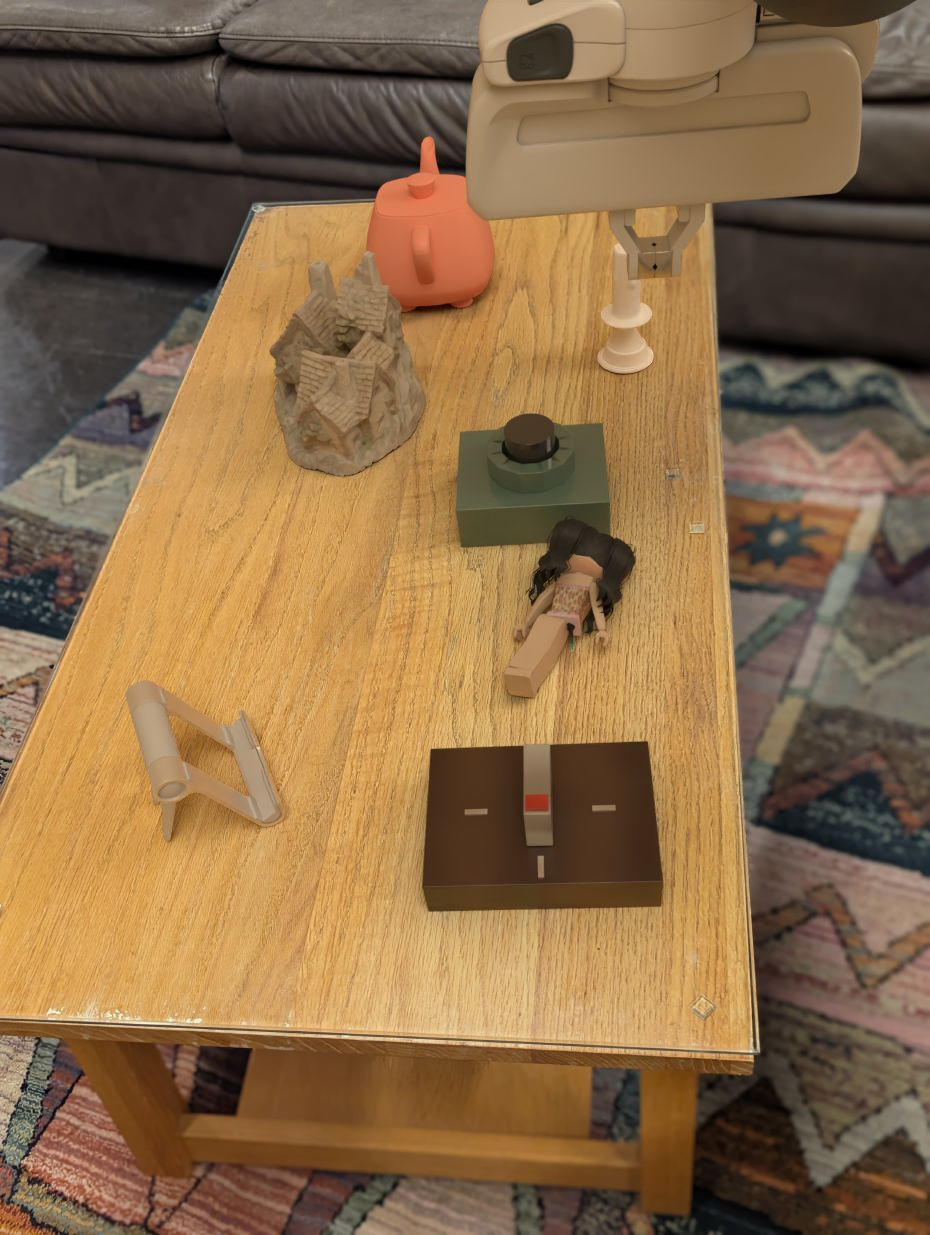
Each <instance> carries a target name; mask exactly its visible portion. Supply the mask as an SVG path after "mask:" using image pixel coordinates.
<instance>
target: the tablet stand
mask: <svg viewBox="0 0 930 1235" xmlns="http://www.w3.org/2000/svg"><path fill="white" fill-rule="evenodd" d="M125 700H126V704H127V707H128V711H129V713H130V718H131V720H132V723H133V728H134V731H135V735H136V738H137V741H138V745H139V748H140V752H141V755H142V758H143V762H144V765H145V770H146V773H147V777H148V780H149V783H150V792H151V797H152V800H153V804H154V806H158V805H160V808H161V811H162V812H161V813H162V821H161V832H162V835H163V838H164V842H170V841H171V838H172V834H173V833H172V832H173V828H174V820H175V815H176V809H177V802H179V801H181V800H183V799H184V798H186V797H188V796H189V795H191V794H193V793H198V794H201V795H203V796H205V797H207V798H209V799H211V800H212V801H214V802H216V803H218V804H219V805H220V806H221V805H222V806H224V807H225V808H227V809H229V810H231V811H233V812H234V813H236V814H238V815H240V816H241V817H243V818H245V819H247V820H249V821H251V822H253V823H254V824H256V825H258V826H260V827H264V828H267V827H269V828H270V827H273V826H276V825H278V824H279V823H280V822H282V821H283V820H284V819H285V817H286V813H287V812H286V809H285V807H284V804H283V802H282V799H281V796H280V794H279V791H278V789H277V786H276V784H275V781H274V778H273V775H272V774H271V771H270V767H269V765H268V763H267V760H266V757H265V755H264V752H263V749H262V747H261V744H260V742H259V740H258V737H257V735H256V732H255V730H254V727H253V725H252V722H251V719H250V716H248V714H247V713H246V711H245V710H244V709H241V710H239V711H238V715H239V719H237V720H236V721H234V722H233V723H232V724H231V725H229V726H228V725H226V724H225V723H222V724H221V723H219V722H218V721H216V720H214V719H213V718H211V717H210V716H208V715H207V714H205V713H204V712H202V711H200V710H199V709H197V708H195V707H194V706H193V705H191V704H189V703H188V702H187V701H185V700H183V699H182V698H180V697H178V696H177V695H175V694H173V693H172V692H171V691H169V690H168V689H165V688H163V687H162V686H160V685H159V684H157V683H156V682H155V681H153V680H146V679H145V680H144V679H143V680H139V681H137V682H134V683H133V684H131V685H130V686H129V687H127V689H126V692H125ZM169 716H174V717H177V718H178V719H180V720H181V721H182V722H184V723H186V724H187V725H189V726H191V727H193V728H194V729H196V730H198V731H199V732H201V733H203V734H204V735H206V736H208V737H209V738H210V739H212V740H214V741H215V742H217V743H219V744H220V745H222V746H223V747H225V748H227V749H229V750H230V751H231V752H233V755H234V758H235V760H236V763H237V766H238V769H239V772H240V774H241V777H242V779H243V783H244V785H245V788H246V791H247V793H248V796H247V795H245V794H243V793H242V792H239V791H238V790H237V789H235V788H233V787H231V786H229V785H228V784H226V783H224V782H222V781H221V780H218V779H217V778H215V777H214V776H211V775H210V774H208V773H207V772H205V771H203V770H201V769H199V768H198V767H196V766H194V765H192V764H191V763H188V762H187V761H185V760H182V756H181V752H180V749H179V746H178V743H177V741H176V737H175V733H174V731H173V727H172V724H171V721H170V718H169Z"/></svg>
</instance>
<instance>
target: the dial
mask: <svg viewBox="0 0 930 1235" xmlns="http://www.w3.org/2000/svg"><path fill="white" fill-rule="evenodd" d="M523 745H524V746H523ZM523 745H522V746H523V817H524V826H525V835H526V844H527V846H552V845H553V796H552V767H551V752H550V745H551V743H527V744H526V743H525V744H523Z"/></svg>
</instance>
